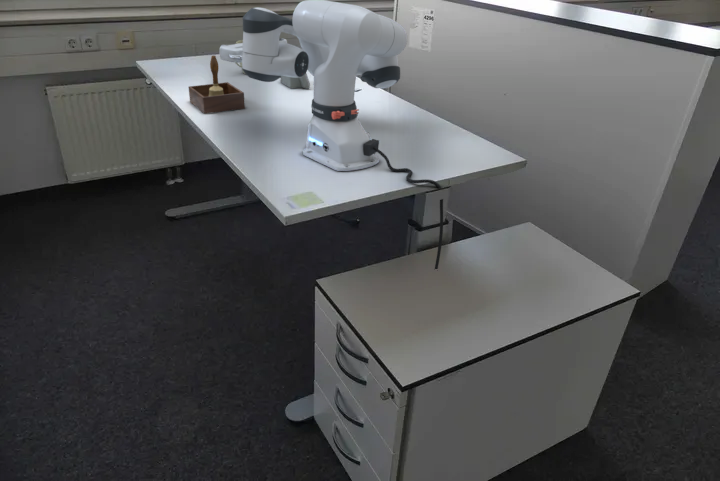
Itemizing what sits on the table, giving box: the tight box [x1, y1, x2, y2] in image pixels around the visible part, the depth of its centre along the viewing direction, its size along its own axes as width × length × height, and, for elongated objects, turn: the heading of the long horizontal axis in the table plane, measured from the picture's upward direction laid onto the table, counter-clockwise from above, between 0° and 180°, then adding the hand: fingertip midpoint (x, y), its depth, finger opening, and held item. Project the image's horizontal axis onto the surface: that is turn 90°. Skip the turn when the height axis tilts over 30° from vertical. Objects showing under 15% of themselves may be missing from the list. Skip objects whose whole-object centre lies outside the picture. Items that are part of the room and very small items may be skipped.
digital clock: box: [280, 73, 311, 90], centre depth 212 cm, size 16×9×11 cm, turn 20°
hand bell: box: [209, 55, 224, 96], centre depth 184 cm, size 8×8×16 cm
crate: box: [188, 81, 246, 115], centre depth 187 cm, size 14×14×5 cm
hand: (235, 45), depth 171 cm, fingers open, 8 cm apart
